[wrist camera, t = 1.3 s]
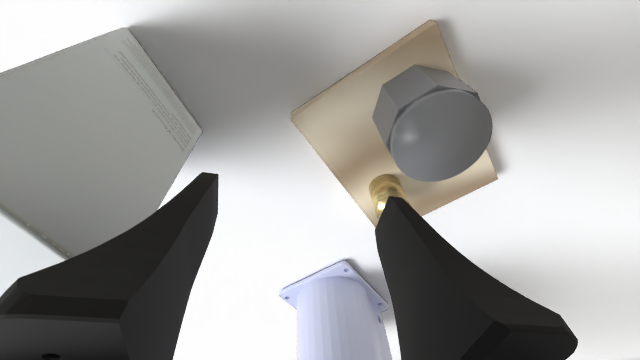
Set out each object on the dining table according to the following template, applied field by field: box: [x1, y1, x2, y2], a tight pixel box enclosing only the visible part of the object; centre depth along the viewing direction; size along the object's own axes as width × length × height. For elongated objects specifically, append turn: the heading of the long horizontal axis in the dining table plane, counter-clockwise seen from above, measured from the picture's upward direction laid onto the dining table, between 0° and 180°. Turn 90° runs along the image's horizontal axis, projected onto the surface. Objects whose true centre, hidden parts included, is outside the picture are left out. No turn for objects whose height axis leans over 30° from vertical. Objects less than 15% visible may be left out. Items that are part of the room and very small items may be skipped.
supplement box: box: [0, 27, 202, 297], centre depth 15 cm, size 7×7×13 cm
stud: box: [369, 174, 411, 220], centre depth 22 cm, size 2×2×4 cm
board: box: [291, 20, 498, 227], centre depth 22 cm, size 13×10×1 cm
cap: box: [372, 64, 492, 182], centre depth 18 cm, size 5×5×4 cm
